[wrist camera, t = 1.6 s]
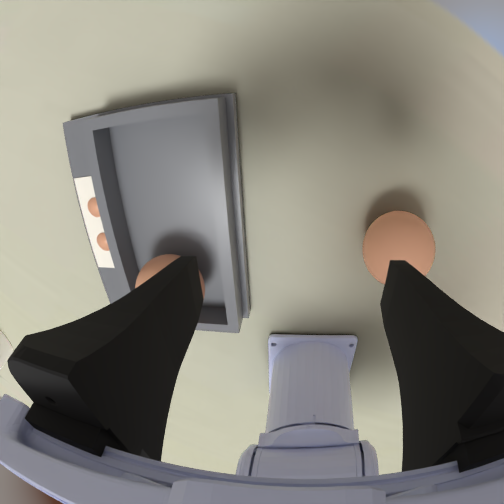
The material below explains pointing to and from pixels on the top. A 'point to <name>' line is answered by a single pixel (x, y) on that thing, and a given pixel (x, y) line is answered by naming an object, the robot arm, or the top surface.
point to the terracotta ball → (398, 243)
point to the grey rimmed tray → (165, 196)
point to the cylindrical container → (4, 349)
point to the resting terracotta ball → (157, 265)
